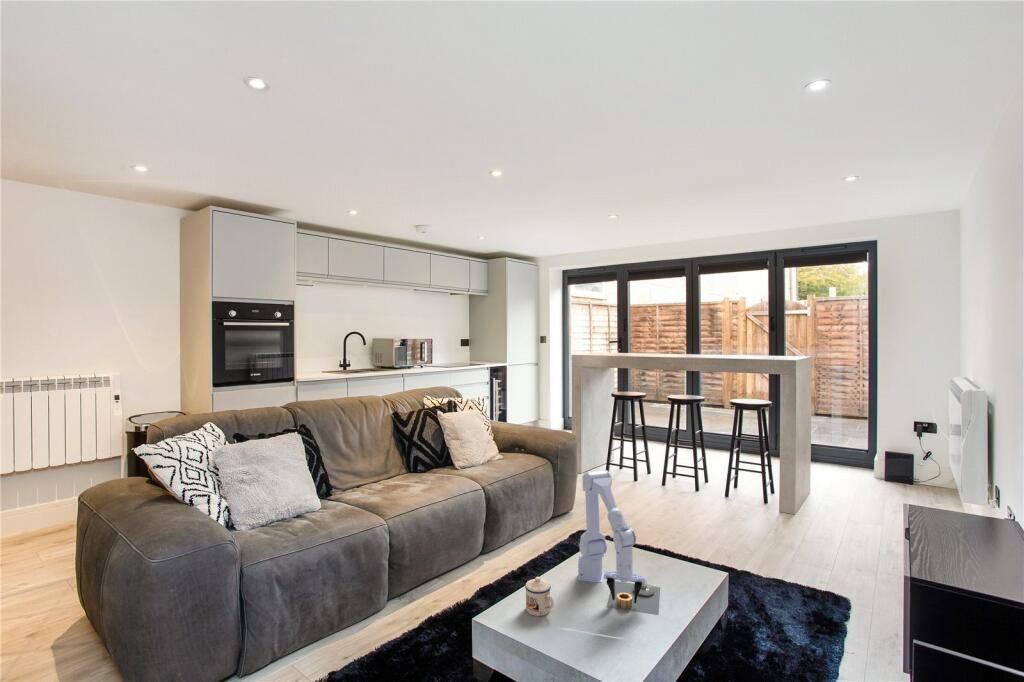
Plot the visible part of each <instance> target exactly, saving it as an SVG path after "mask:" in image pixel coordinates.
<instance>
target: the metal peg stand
mask: <svg viewBox="0 0 1024 682" xmlns="http://www.w3.org/2000/svg"><path fill="white" fill-rule="evenodd" d="M654 587H655V586H654ZM654 587H653V585H651V584H648V581H647V580H646V579H645V584H642V587H641V590H640V591H639V594H638V596H642V597H650V596H652V595H654ZM633 592H634V593H635V590H634V585H633Z"/></svg>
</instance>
